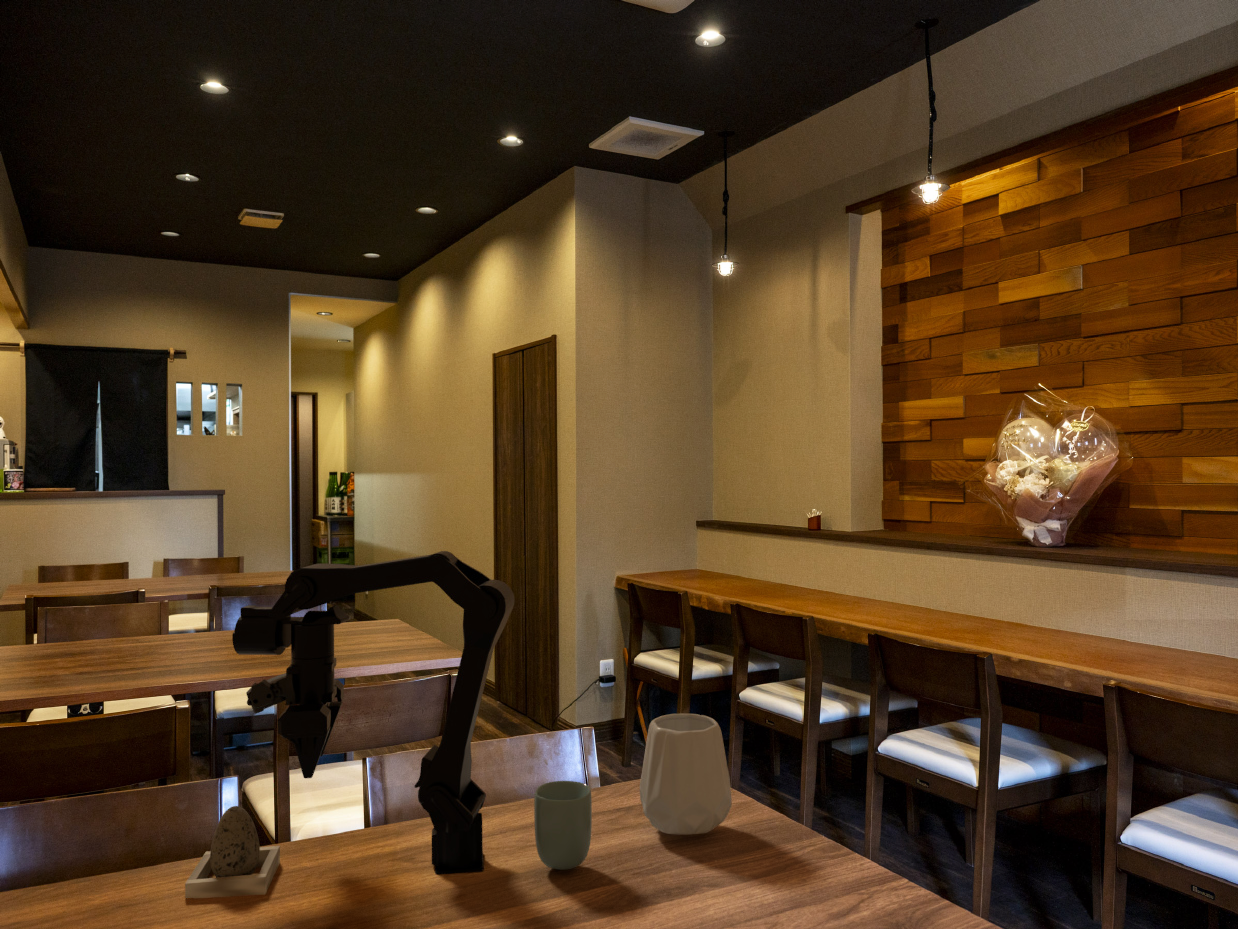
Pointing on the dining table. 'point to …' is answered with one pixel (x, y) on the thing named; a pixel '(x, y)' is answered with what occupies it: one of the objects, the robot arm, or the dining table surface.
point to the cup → (563, 823)
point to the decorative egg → (234, 844)
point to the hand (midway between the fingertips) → (313, 766)
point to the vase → (685, 775)
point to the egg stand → (233, 878)
